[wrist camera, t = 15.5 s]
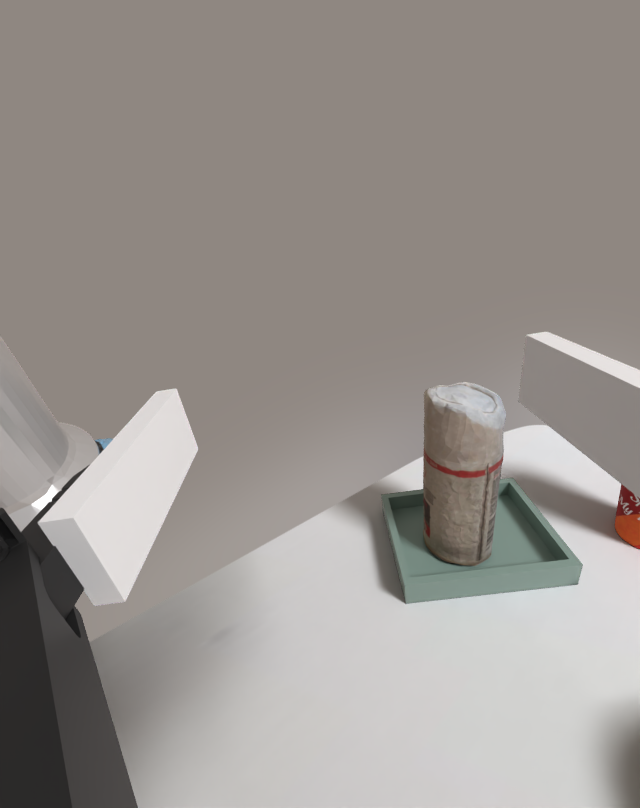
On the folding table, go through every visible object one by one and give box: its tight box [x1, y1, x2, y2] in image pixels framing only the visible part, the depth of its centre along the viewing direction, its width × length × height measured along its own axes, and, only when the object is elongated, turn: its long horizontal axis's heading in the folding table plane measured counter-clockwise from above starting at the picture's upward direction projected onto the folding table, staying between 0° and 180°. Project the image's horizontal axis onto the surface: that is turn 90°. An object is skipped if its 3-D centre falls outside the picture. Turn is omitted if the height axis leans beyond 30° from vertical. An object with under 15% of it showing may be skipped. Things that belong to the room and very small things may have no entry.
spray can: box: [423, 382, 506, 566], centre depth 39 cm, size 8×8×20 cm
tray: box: [381, 478, 583, 604], centre depth 43 cm, size 18×14×3 cm
